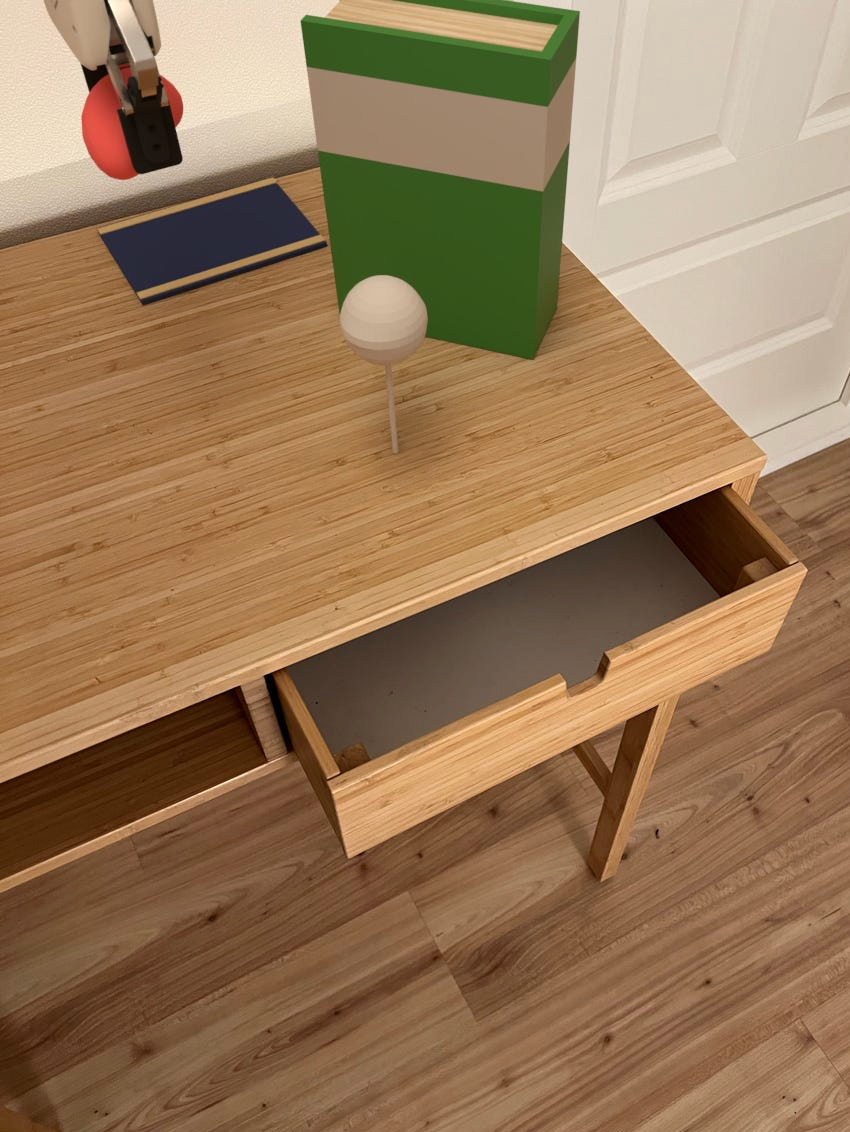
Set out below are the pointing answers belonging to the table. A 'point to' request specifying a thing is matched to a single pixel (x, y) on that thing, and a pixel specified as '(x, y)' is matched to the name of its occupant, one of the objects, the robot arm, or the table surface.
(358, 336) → the lollipop
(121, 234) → the cloth
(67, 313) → the table surface
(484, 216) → the hardback book
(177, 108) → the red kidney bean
